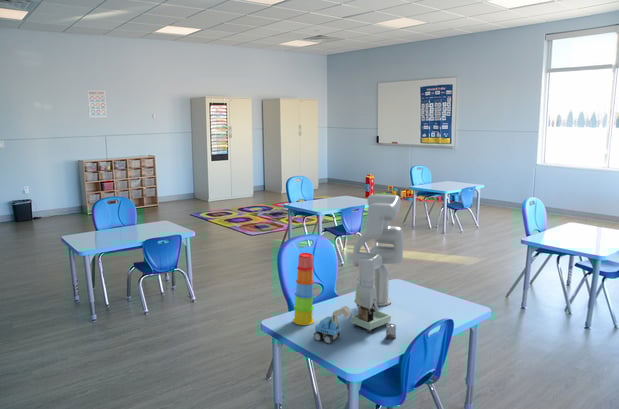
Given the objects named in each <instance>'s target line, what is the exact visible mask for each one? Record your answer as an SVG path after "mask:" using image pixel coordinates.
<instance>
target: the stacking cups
mask: <svg viewBox="0 0 619 409" xmlns="http://www.w3.org/2000/svg"><path fill="white" fill-rule="evenodd" d="M313 262H314V256H313V254H312V253H310V252H300V254H299V255H298V262H297V263H298V264H297V267H296V270H297V275H296V276H297V279H296V280H295V282H296V292H295V293H294V295H295V302H294V304H295V305H294V306H293V309H294V317H293V319H292V322H293V323H294V324H296V325H299V326H310V325H312V324H313V323H314V322H315V320H314V318H313V310H314V309H315V308H314V306H313V300H314V299H313V298H314V295H315V294H314V290H313V289H314V288H313V286H314V280H313V279H314V278H313V276H314V267H313V265H314V263H313Z"/></svg>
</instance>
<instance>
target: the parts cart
mask: <svg viewBox="0 0 619 409" xmlns="http://www.w3.org/2000/svg"><path fill="white" fill-rule="evenodd" d="M350 316H351V318H350V323H352V324H353V327H356V328H357V327H358V326H359V327H362V328H364V329H366V332H368V333H370V334H371V333H372V332H373V331H372V330H373V329H375V328H376V329H377V328H378V327H381V326H386V325H387V324H389V323H391V319H392V318H391V317H392V316H391V314H387V313H386V312H383V311H380V310H379V309H378V310H376V311H375V312H374V313H373V321H370V322H366V321H363V320H361V319H359V313H356V314H354V315H350Z"/></svg>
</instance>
